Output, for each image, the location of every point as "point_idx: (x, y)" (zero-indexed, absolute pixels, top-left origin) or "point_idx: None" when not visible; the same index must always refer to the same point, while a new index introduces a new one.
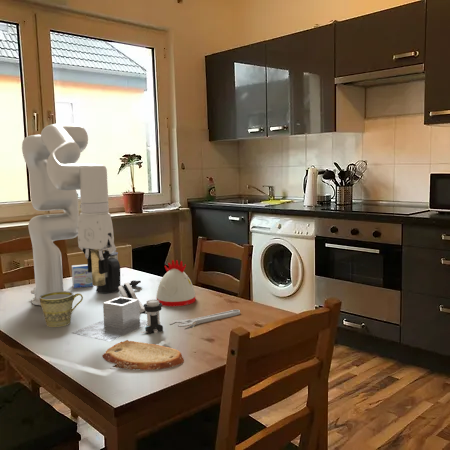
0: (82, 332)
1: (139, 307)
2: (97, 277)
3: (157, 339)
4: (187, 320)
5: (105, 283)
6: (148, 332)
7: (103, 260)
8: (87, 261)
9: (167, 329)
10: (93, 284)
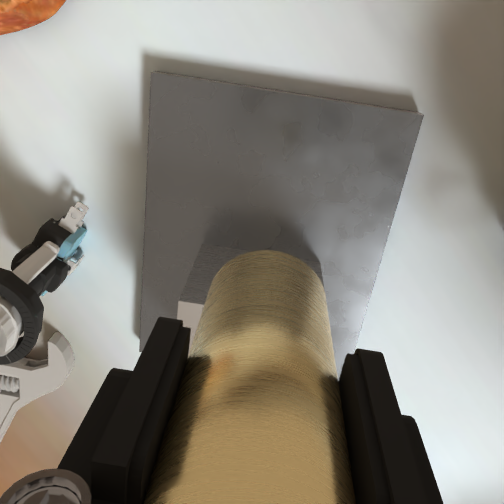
0: (367, 141)
1: None
2: (228, 297)
3: (11, 203)
4: (19, 391)
5: None
6: (49, 220)
7: (59, 485)
8: (417, 470)
9: (56, 314)
10: (289, 259)
